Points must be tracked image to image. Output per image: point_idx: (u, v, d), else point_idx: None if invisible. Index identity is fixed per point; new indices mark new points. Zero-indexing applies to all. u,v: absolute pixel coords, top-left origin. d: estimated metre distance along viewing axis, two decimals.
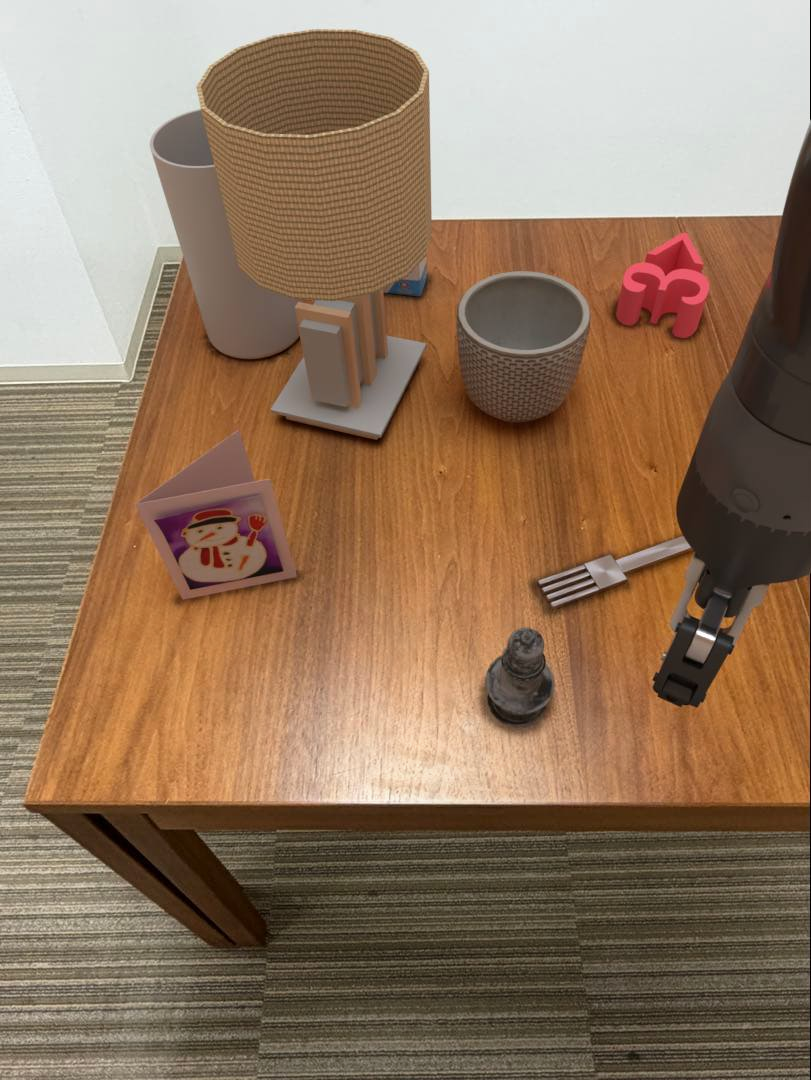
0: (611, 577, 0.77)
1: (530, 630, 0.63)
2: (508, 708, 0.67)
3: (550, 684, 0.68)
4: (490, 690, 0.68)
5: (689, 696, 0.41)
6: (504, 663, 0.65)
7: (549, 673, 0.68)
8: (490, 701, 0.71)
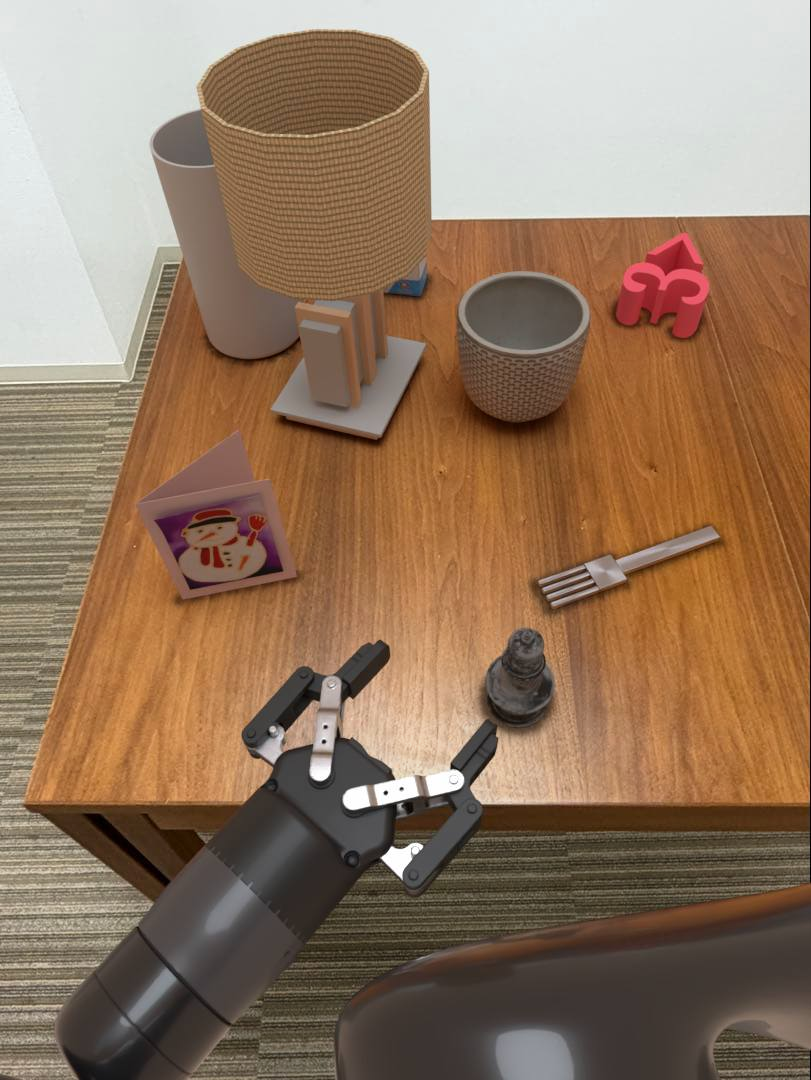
0: (611, 577, 0.77)
1: (530, 630, 0.63)
2: (508, 708, 0.67)
3: (550, 684, 0.68)
4: (490, 690, 0.68)
5: None
6: (504, 663, 0.65)
7: (549, 673, 0.68)
8: (490, 701, 0.71)
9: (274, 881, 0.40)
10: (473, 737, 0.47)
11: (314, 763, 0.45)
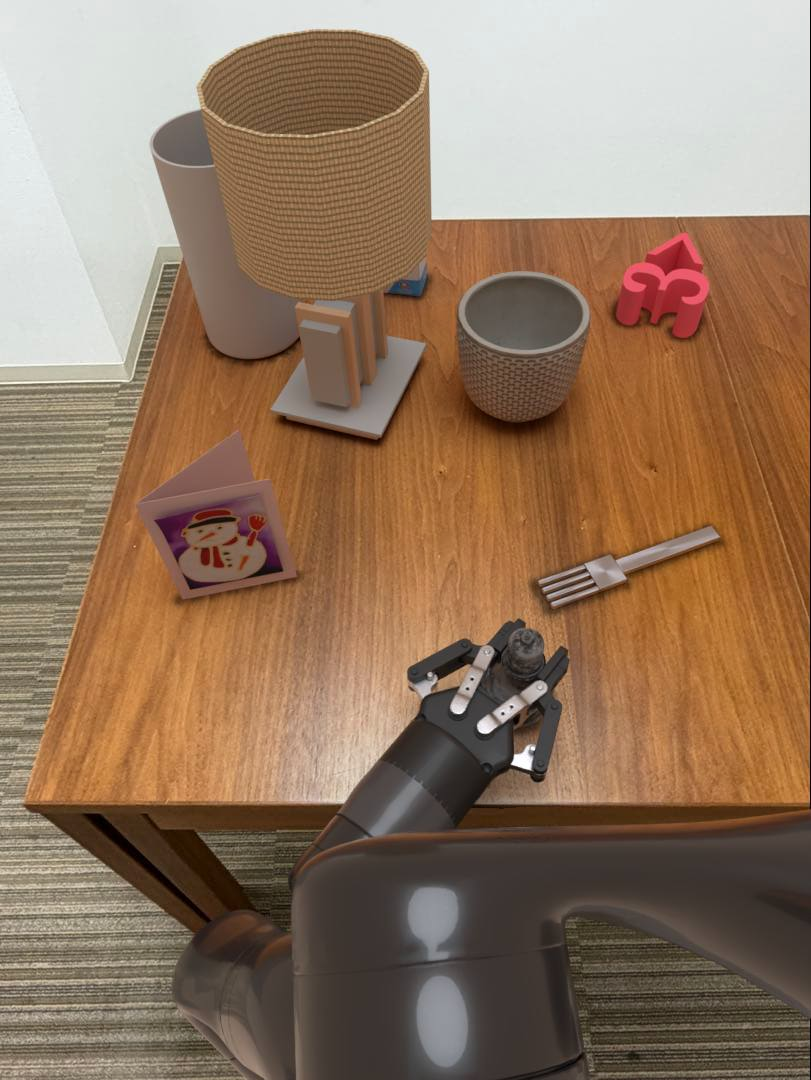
0: (611, 577, 0.77)
1: (530, 630, 0.63)
2: None
3: None
4: (490, 690, 0.68)
5: None
6: (504, 663, 0.65)
7: None
8: None
9: (437, 781, 0.56)
10: (552, 658, 0.64)
11: (453, 701, 0.61)
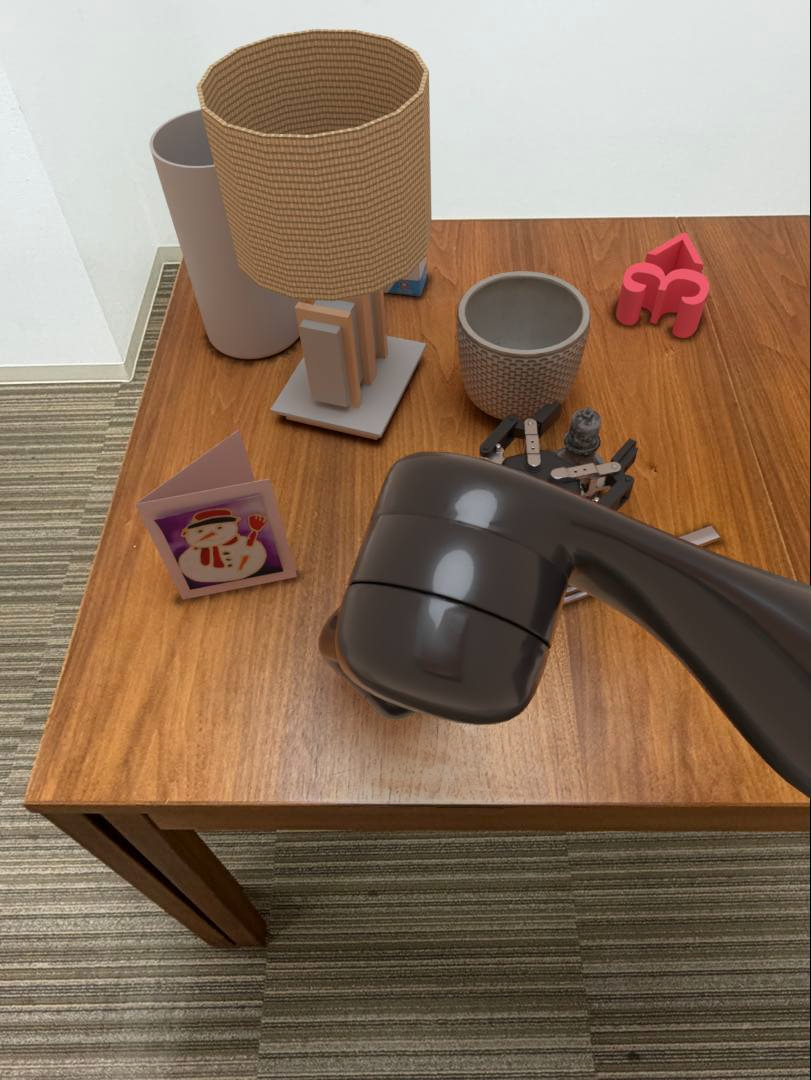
0: None
1: None
2: None
3: None
4: None
5: (629, 488, 0.74)
6: (566, 442, 0.79)
7: (601, 460, 0.82)
8: None
9: None
10: (623, 446, 0.76)
11: (530, 457, 0.75)
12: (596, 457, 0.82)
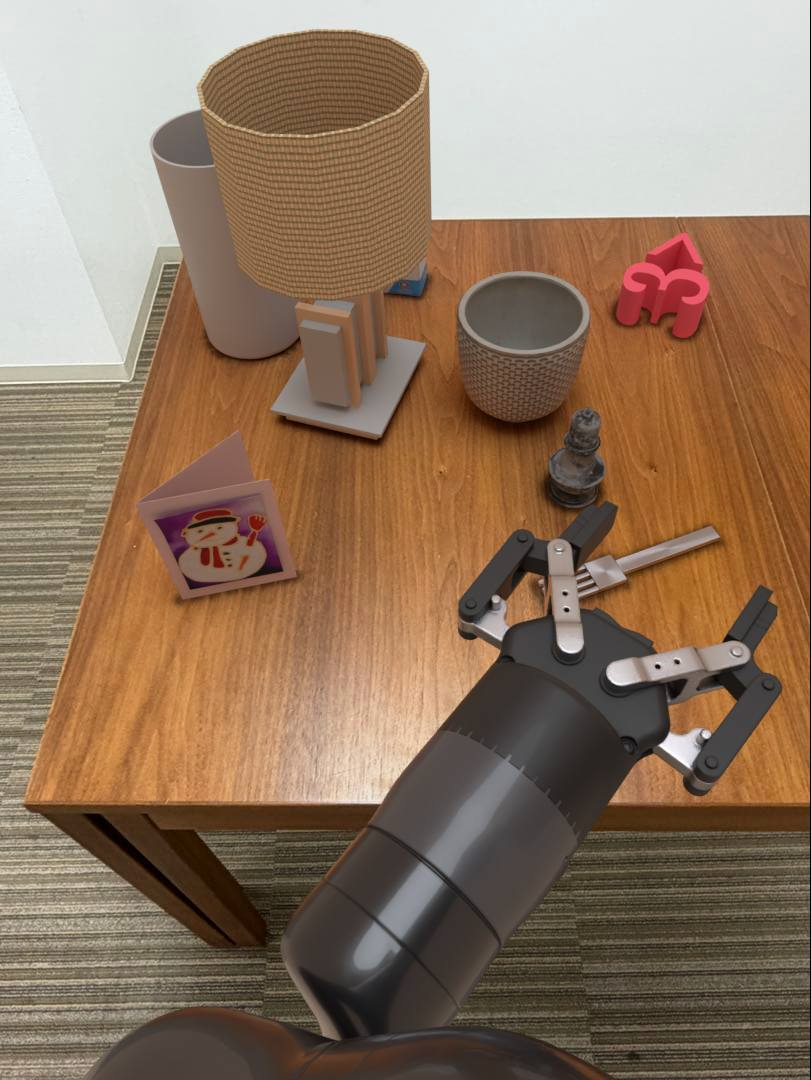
0: (611, 577, 0.77)
1: None
2: (568, 484, 0.81)
3: (602, 467, 0.82)
4: (553, 472, 0.82)
5: None
6: (566, 442, 0.79)
7: (601, 460, 0.82)
8: (550, 489, 0.85)
9: (551, 765, 0.31)
10: (749, 604, 0.38)
11: (562, 633, 0.36)
12: (596, 457, 0.82)
